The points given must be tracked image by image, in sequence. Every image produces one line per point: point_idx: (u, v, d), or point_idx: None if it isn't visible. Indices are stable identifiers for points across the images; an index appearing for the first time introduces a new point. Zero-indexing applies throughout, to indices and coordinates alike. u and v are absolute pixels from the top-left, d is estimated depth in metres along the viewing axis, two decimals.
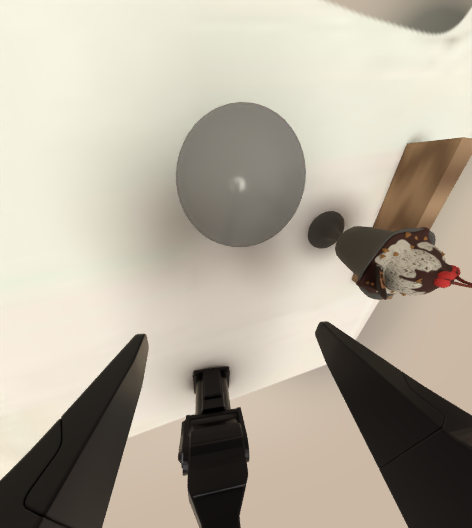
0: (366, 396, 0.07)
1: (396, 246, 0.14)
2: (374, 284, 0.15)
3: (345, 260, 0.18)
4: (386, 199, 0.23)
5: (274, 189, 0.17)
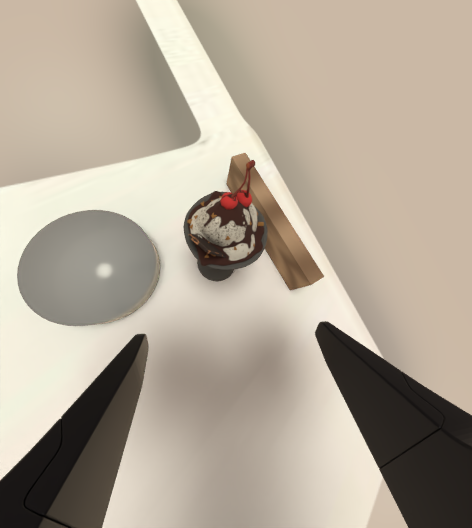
0: (366, 396, 0.07)
1: (195, 213, 0.14)
2: None
3: None
4: None
5: (121, 251, 0.19)
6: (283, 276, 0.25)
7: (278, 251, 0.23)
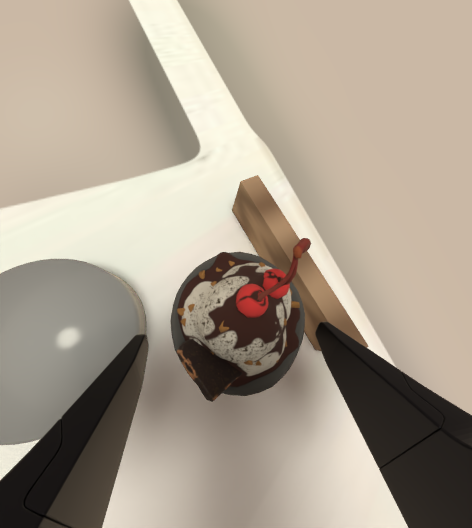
0: (366, 396, 0.07)
1: (190, 296, 0.08)
2: None
3: None
4: (257, 251, 0.21)
5: (89, 318, 0.14)
6: (306, 332, 0.19)
7: None
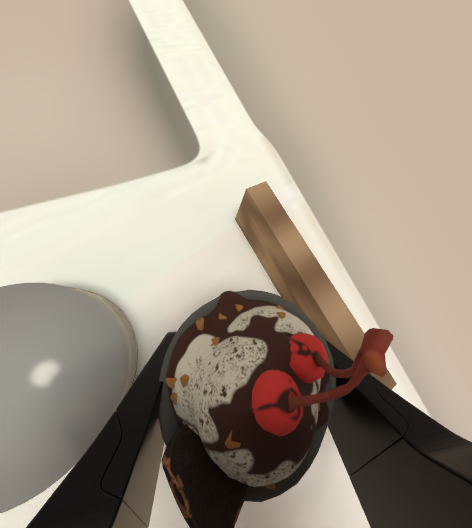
0: (337, 401, 0.07)
1: (184, 359, 0.06)
2: None
3: None
4: (264, 265, 0.19)
5: (67, 355, 0.12)
6: None
7: None
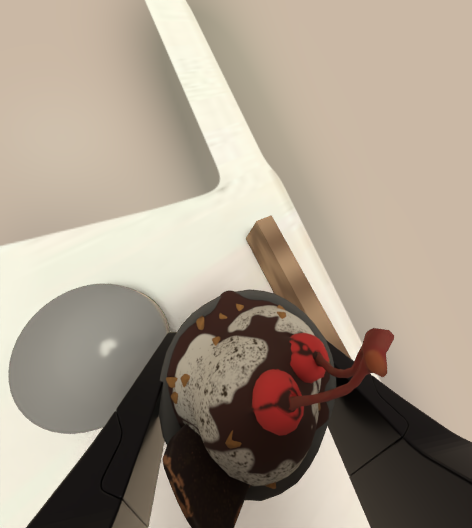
0: (337, 401, 0.07)
1: (185, 359, 0.06)
2: None
3: None
4: (266, 276, 0.24)
5: (129, 335, 0.17)
6: None
7: None
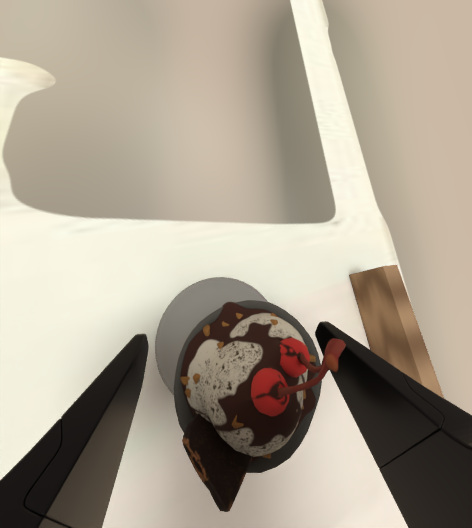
0: (366, 396, 0.07)
1: (195, 361, 0.07)
2: None
3: None
4: (363, 318, 0.24)
5: None
6: None
7: None
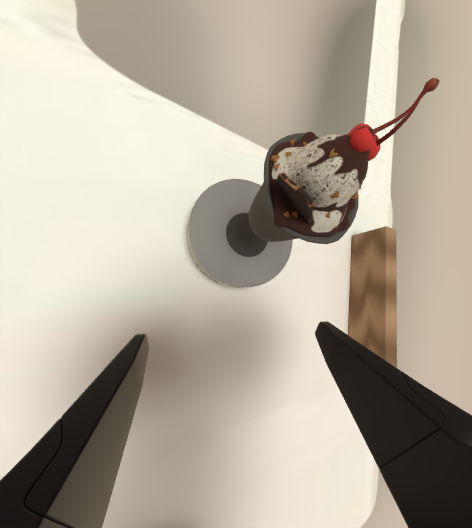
0: (366, 396, 0.07)
1: (285, 150, 0.10)
2: (297, 214, 0.10)
3: (262, 226, 0.13)
4: (352, 271, 0.28)
5: None
6: None
7: (368, 321, 0.24)
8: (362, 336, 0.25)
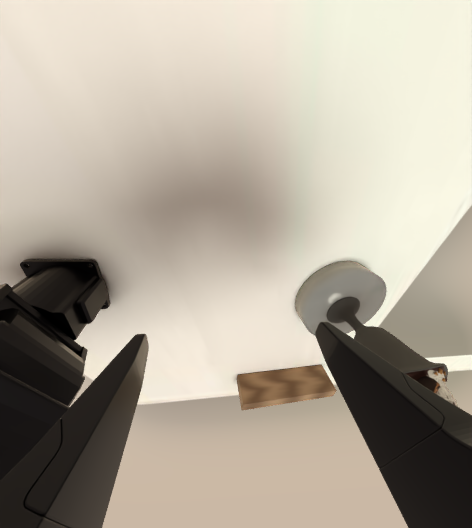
0: (366, 396, 0.07)
1: (443, 375, 0.16)
2: None
3: (377, 347, 0.19)
4: (296, 369, 0.37)
5: (336, 323, 0.27)
6: (248, 375, 0.35)
7: (268, 387, 0.34)
8: (256, 384, 0.34)
